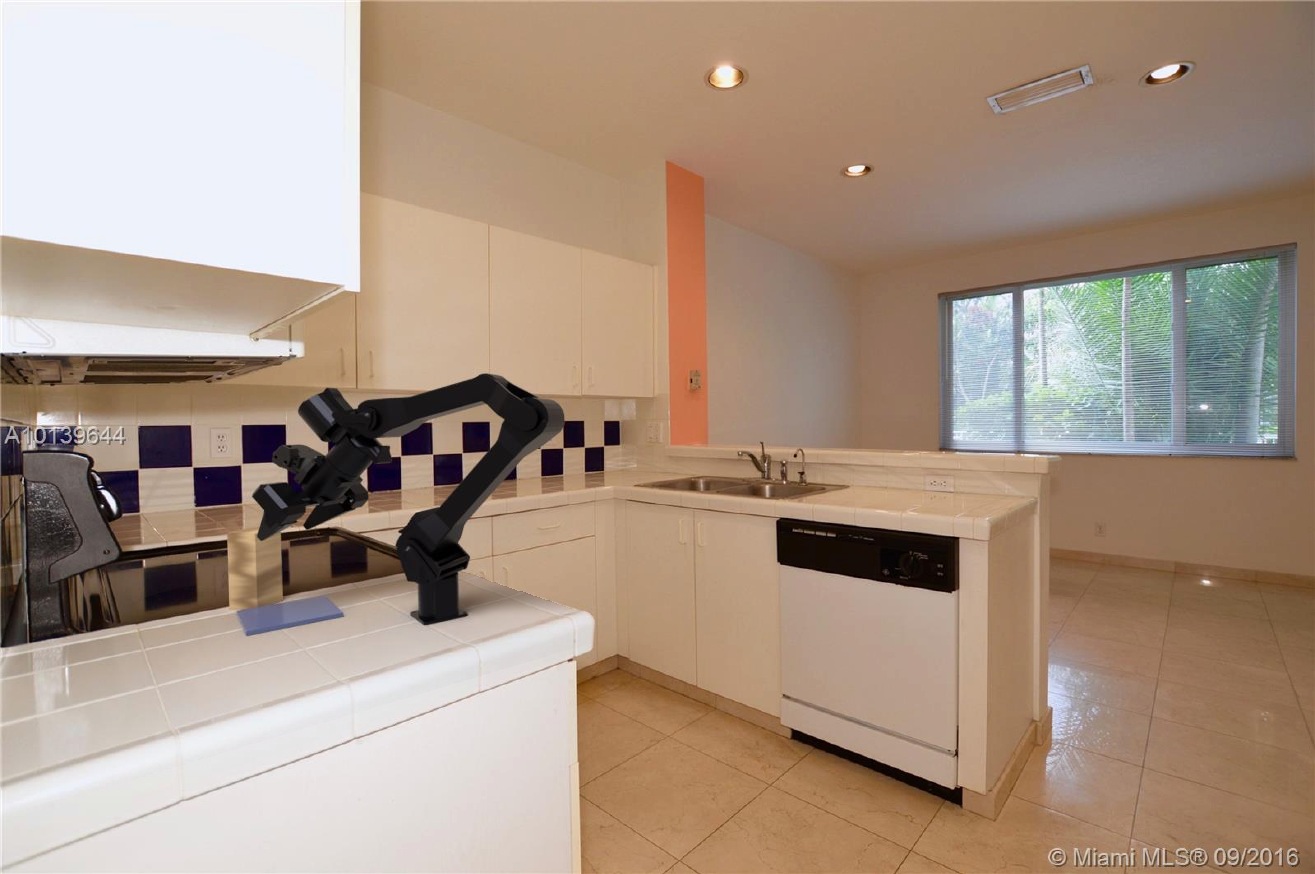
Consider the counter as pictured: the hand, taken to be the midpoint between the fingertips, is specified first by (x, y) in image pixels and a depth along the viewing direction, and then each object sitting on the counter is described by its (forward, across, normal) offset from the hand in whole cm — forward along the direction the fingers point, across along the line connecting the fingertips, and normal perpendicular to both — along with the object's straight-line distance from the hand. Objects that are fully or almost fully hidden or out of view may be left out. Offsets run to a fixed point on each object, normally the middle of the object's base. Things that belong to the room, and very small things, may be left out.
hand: (283, 532), depth 94 cm
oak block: (+12, 0, +5) cm, 13 cm away
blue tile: (+5, +4, +11) cm, 13 cm away
